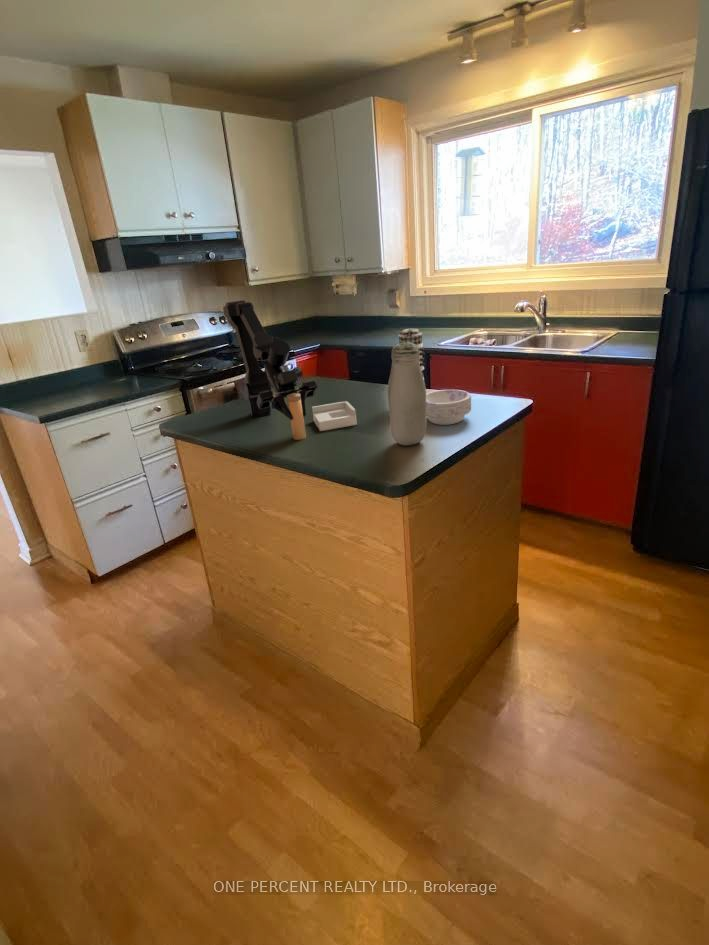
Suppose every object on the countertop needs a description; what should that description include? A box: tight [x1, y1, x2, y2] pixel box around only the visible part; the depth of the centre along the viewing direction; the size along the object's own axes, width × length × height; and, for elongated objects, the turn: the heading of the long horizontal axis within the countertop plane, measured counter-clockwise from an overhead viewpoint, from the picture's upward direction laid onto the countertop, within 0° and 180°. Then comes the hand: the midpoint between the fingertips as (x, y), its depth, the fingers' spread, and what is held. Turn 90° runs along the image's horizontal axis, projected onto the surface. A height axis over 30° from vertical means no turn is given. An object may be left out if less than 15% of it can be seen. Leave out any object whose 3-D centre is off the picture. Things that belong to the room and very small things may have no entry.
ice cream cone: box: [286, 393, 307, 441], centre depth 155 cm, size 4×4×14 cm
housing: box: [311, 400, 358, 432], centre depth 167 cm, size 12×11×5 cm
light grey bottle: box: [387, 342, 427, 446], centre depth 139 cm, size 10×10×28 cm
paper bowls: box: [426, 389, 472, 426], centre depth 158 cm, size 15×15×8 cm
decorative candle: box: [398, 327, 426, 384], centre depth 175 cm, size 9×9×25 cm
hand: (298, 417), depth 154 cm, fingers closed on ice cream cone, 4 cm apart
